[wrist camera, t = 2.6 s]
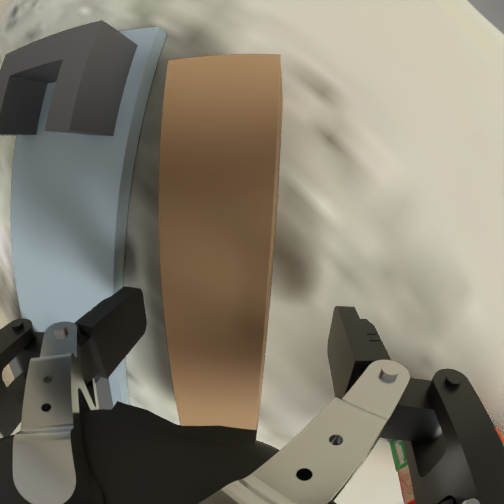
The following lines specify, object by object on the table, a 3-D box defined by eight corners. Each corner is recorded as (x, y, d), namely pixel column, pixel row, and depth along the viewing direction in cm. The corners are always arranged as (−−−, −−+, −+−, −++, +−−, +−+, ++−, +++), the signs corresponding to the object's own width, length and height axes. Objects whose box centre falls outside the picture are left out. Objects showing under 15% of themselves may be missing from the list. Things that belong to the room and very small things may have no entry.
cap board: (131, 416, 17) (109, 453, 13) (44, 370, 17) (18, 395, 13) (167, 34, 10) (128, -3, 6) (48, 55, 10) (5, 42, 6)
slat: (258, 423, 15) (248, 486, 11) (211, 417, 16) (192, 477, 11) (282, 101, 10) (280, 54, 6) (212, 101, 11) (167, 60, 6)
